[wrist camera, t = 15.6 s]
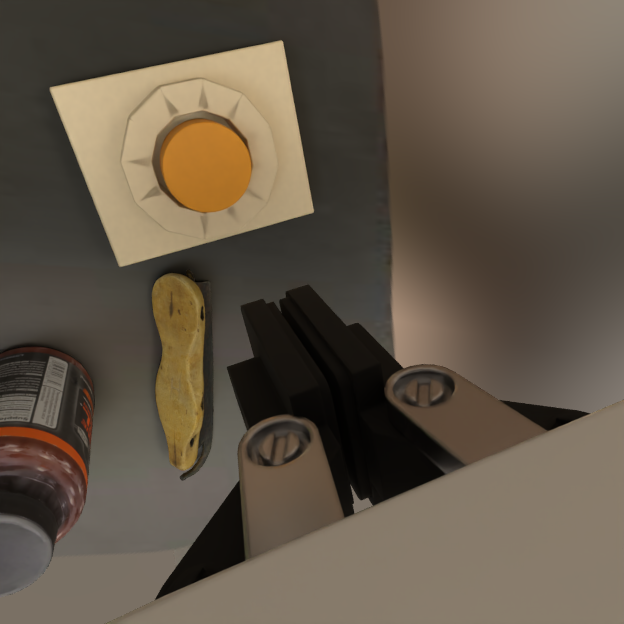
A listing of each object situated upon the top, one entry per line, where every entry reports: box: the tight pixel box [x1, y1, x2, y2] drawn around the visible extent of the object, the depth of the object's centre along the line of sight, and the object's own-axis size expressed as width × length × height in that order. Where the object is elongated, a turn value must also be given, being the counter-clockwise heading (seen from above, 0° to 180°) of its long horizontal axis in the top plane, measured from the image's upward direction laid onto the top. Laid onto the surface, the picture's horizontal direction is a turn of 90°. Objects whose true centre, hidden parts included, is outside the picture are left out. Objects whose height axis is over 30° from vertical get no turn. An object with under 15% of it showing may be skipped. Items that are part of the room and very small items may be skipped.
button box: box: [50, 40, 314, 267], centre depth 23 cm, size 8×10×4 cm
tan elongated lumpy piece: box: [152, 270, 213, 481], centre depth 29 cm, size 3×14×3 cm
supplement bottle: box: [0, 347, 95, 597], centre depth 22 cm, size 6×6×11 cm
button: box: [160, 119, 252, 213], centre depth 21 cm, size 4×4×2 cm
